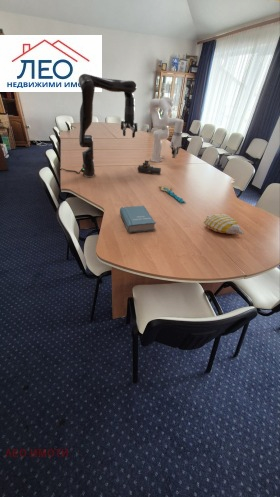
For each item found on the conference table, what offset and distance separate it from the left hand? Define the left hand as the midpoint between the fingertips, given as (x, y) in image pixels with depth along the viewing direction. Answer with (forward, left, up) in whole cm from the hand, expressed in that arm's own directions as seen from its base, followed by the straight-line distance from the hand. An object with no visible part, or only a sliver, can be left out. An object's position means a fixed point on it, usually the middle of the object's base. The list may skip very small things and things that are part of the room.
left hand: (128, 136), depth 178 cm
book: (+44, -64, -35) cm, 85 cm away
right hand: (+22, +57, -20) cm, 64 cm away
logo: (+47, -8, -35) cm, 59 cm away
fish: (+93, -42, -35) cm, 108 cm away
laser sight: (+8, +28, -35) cm, 45 cm away
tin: (+22, +57, -24) cm, 65 cm away
